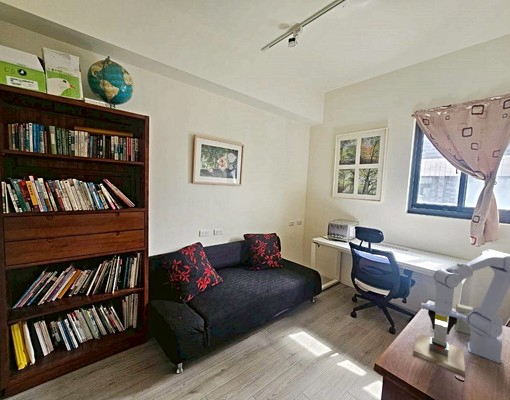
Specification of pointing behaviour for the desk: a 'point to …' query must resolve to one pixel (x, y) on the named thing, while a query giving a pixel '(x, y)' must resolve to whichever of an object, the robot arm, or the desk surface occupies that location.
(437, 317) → the supplement bottle
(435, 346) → the sleeve
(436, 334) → the column
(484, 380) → the desk surface
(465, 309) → the skincare box
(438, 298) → the robot arm
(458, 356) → the stand base
